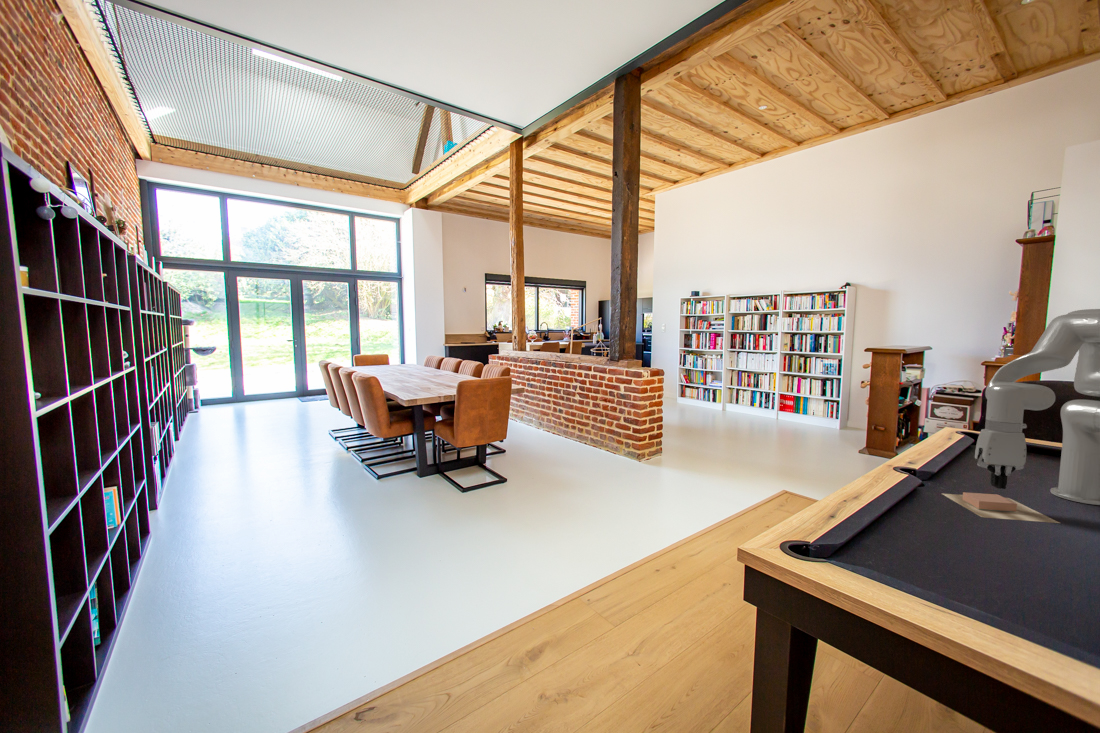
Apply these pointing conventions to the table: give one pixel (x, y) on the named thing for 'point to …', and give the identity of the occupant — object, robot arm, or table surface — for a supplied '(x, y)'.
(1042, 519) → the board
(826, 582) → the table surface
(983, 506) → the tile
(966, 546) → the table surface
